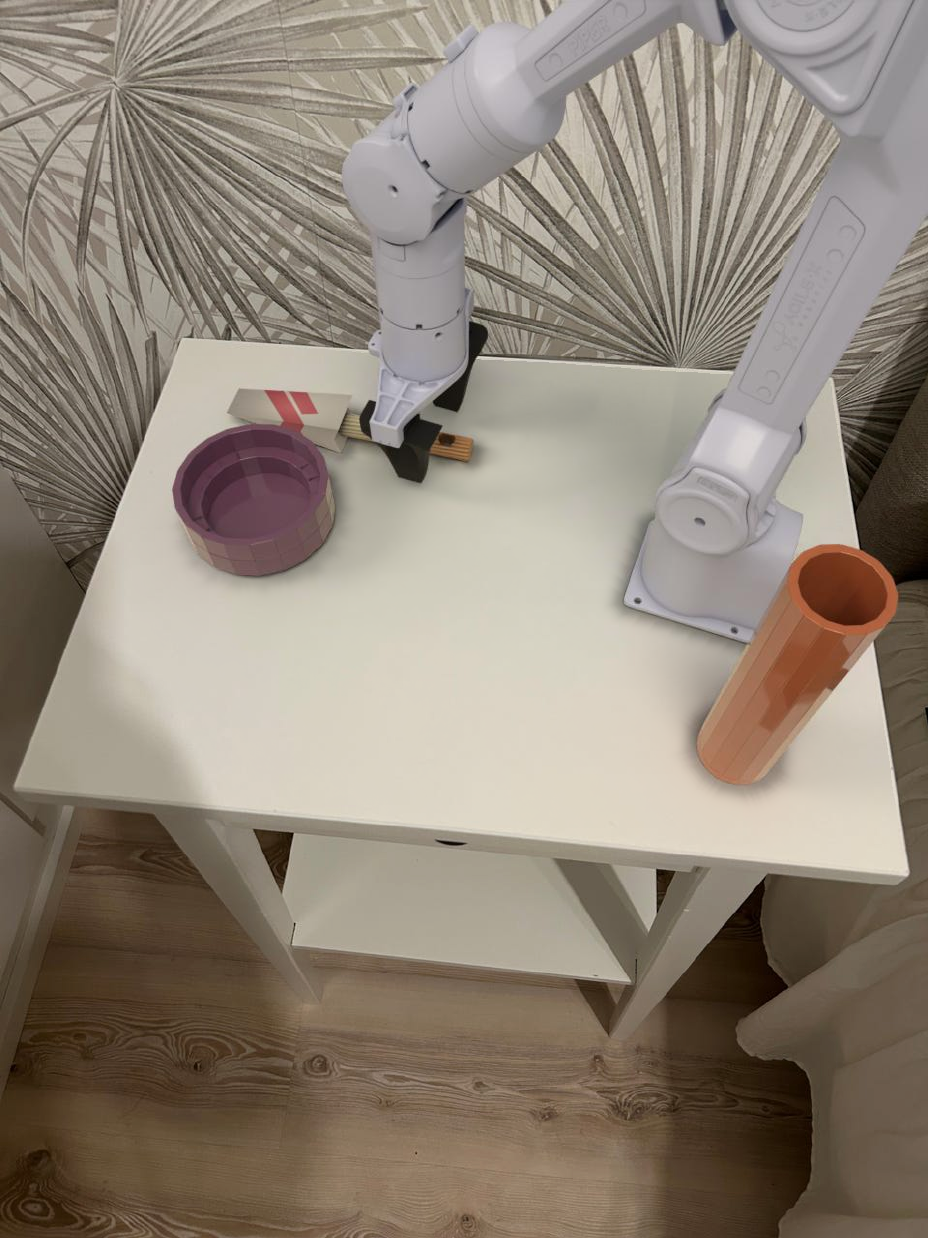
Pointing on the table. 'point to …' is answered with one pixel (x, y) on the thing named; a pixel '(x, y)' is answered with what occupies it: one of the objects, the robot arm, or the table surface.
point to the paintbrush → (323, 419)
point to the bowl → (255, 499)
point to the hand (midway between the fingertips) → (429, 440)
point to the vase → (796, 658)
